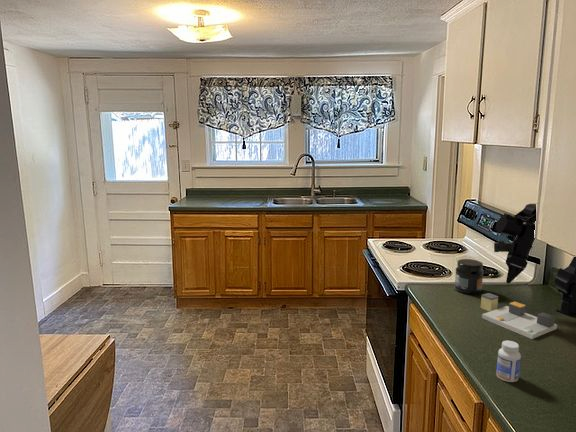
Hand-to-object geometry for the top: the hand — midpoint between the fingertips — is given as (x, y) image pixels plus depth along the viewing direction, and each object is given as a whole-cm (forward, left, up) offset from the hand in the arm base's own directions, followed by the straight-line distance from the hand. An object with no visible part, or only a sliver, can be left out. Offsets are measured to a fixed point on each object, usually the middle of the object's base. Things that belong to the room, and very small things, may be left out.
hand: (508, 280), depth 154 cm
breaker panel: (+3, +7, -12) cm, 15 cm away
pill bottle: (+37, +25, -13) cm, 46 cm away
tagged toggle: (0, +4, -11) cm, 11 cm away
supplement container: (-8, -22, -13) cm, 27 cm away
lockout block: (+1, -6, -12) cm, 14 cm away
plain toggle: (0, +14, -11) cm, 18 cm away
